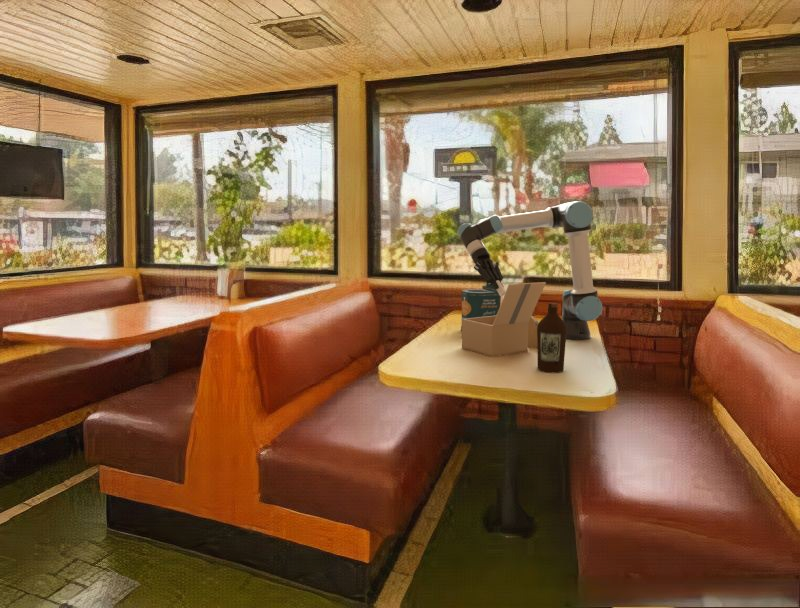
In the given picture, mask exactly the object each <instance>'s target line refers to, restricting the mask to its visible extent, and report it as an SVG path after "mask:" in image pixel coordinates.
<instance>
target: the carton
mask: <svg viewBox="0 0 800 608" xmlns="http://www.w3.org/2000/svg"><path fill="white" fill-rule="evenodd" d="M495 318H496V316H487V317H477V318H467V319H462V318H461V326H462V331H461V349H463V350H466V351H470V352H472V353H473V352H474V353H476V352H477V354H480V353H481V355H483V354H485V355H484V356H486V355H488V356H487V357H490V356H495V357H499V355H501V356H506V355H505V354H508V355H514V354H520V352H521V353H526V352H525V351H527V352H528V349H529V347H528V322H521V323H514V324H504V325H495V326H493V323H494V320H495ZM513 353H514V354H513Z"/></svg>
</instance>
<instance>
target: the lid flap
mask: <svg viewBox="0 0 800 608" xmlns="http://www.w3.org/2000/svg"><path fill="white" fill-rule="evenodd" d="M546 283H547V282H546V281H542V282H541V281H540V282H539V281H538V282H527V283H512V284H511V283H509V284H508V285H507V288H506V289H505V291H506V293H505V294H504V296H503V298H502V300H501V303H500V304H499V310H498V313H497V315H496V318H495V320H494V323H493V326H495V325H504V324H514V323H521V322H529V320H530V318H531V316H533V313H534V311H535V308H536V307H537V304H538V302H539V300H540V298H541V295H542V293H543V290H544V289H545V287H546Z"/></svg>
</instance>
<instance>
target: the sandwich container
mask: <svg viewBox="0 0 800 608" xmlns="http://www.w3.org/2000/svg"><path fill="white" fill-rule="evenodd" d="M539 322H540V321H538V320H537V319H536V318H535V316H533V315H532V316H531V318H530V320H529V322H528V348H536V347H537V327H538V324H539Z"/></svg>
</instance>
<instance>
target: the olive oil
mask: <svg viewBox="0 0 800 608" xmlns="http://www.w3.org/2000/svg"><path fill="white" fill-rule="evenodd" d="M547 305H548V306H547V313H546V315H544V317H542V318H541V320H539V321H538V322H539V324H538V327H537V350H536V351H537V370H538V371H539V372H543V371H544V372H543V373H548V372H558V373H563V371H564V369H565V356H566V344H567V338H566V335H567V327H566V324H565V322H564V321H563V320H562V317H561V316H560V315H559V314H558V308H559V307H558V303H556V302H549V303H548V304H547Z"/></svg>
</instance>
